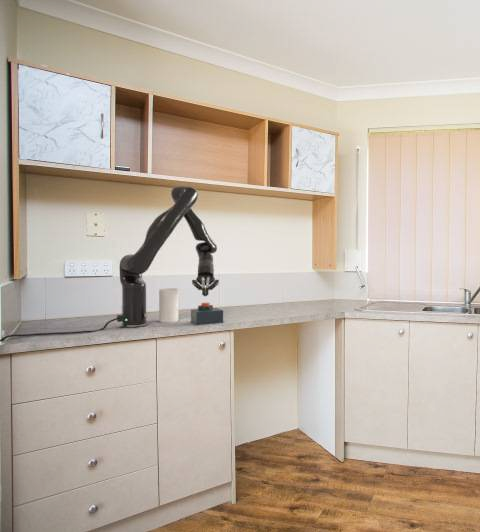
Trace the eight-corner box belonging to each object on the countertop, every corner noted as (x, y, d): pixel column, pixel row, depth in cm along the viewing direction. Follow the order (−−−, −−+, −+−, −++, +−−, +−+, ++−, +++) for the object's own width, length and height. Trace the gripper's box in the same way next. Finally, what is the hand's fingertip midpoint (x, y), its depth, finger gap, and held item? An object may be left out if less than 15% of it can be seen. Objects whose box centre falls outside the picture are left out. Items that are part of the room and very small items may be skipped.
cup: (162, 319, 199) (162, 288, 198) (180, 319, 200) (180, 288, 200) (156, 322, 191) (156, 289, 190) (174, 322, 192) (174, 289, 192)
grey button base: (196, 325, 186) (196, 308, 185) (190, 321, 194) (190, 305, 194) (223, 322, 193) (223, 306, 193) (216, 319, 202) (216, 304, 202)
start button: (202, 307, 193) (202, 303, 193) (200, 306, 196) (200, 302, 196) (210, 306, 195) (210, 303, 195) (208, 305, 198) (208, 302, 198)
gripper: (191, 264, 201) (190, 290, 190) (219, 265, 207) (219, 290, 196) (191, 274, 206) (190, 300, 195) (219, 274, 212) (219, 299, 201)
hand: (205, 295), depth 196 cm, fingers closed
